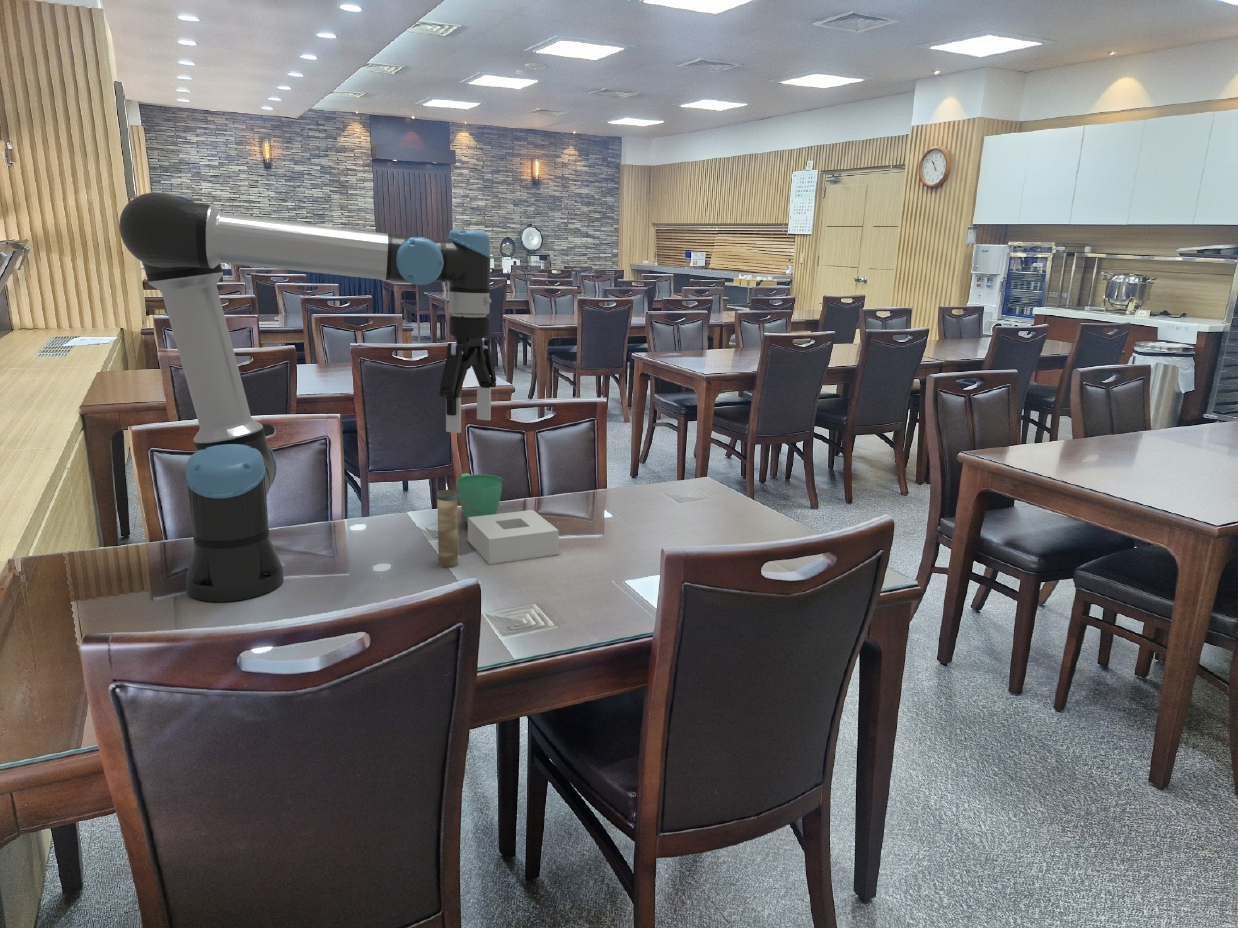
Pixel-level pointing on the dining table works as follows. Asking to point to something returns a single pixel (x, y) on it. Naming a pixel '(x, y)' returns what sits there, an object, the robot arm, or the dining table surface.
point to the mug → (479, 494)
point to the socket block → (512, 536)
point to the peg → (447, 528)
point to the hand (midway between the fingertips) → (469, 425)
